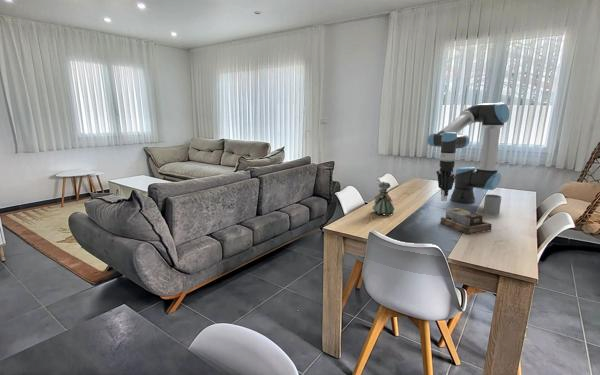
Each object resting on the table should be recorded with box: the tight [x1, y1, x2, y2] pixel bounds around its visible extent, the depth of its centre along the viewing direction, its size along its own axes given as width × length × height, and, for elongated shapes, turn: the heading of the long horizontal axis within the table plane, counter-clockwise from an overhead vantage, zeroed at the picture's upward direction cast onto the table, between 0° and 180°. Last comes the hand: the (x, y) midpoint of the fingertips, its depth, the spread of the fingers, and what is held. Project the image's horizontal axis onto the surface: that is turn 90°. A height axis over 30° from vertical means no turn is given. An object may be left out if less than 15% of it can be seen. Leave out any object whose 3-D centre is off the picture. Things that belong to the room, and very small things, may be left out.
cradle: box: [439, 216, 492, 235], centre depth 169 cm, size 18×16×4 cm
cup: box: [483, 194, 502, 215], centre depth 192 cm, size 8×8×10 cm
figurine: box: [372, 181, 395, 215], centre depth 193 cm, size 14×14×20 cm
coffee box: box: [444, 207, 484, 227], centre depth 171 cm, size 9×6×16 cm
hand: (443, 200), depth 182 cm, fingers closed
